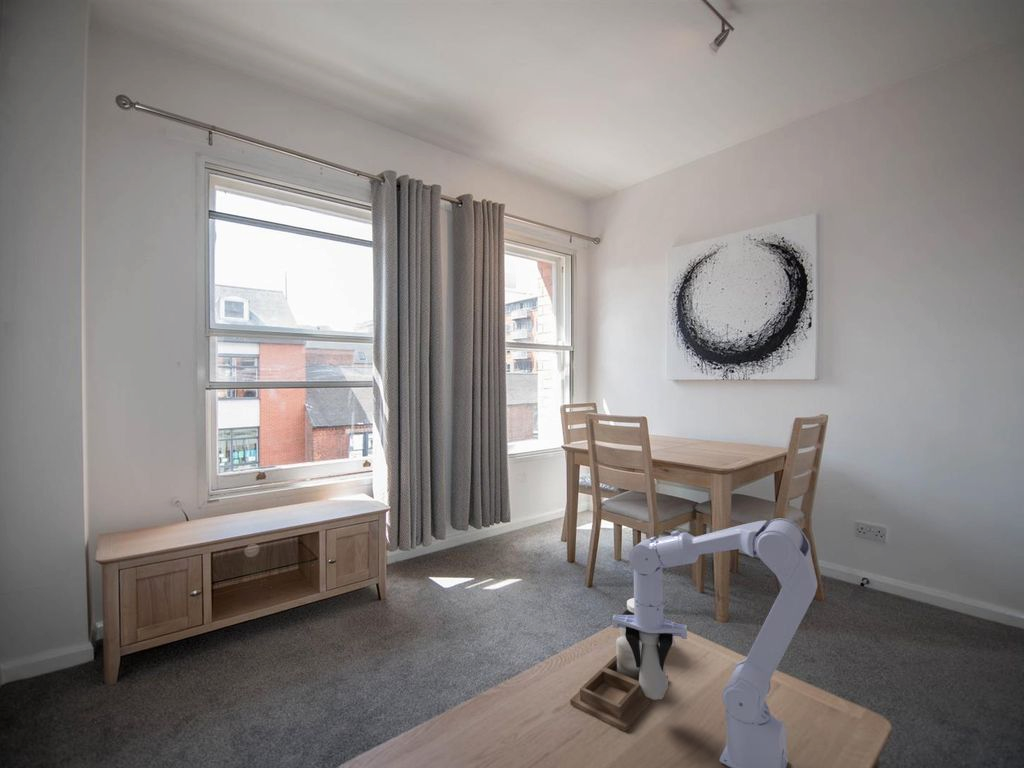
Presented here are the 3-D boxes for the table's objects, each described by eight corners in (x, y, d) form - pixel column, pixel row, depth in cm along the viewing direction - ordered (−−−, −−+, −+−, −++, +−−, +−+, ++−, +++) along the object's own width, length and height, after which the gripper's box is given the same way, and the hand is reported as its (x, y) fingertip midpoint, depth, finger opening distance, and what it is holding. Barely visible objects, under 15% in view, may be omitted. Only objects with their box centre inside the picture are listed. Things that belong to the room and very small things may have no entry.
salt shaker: (674, 700, 93) (668, 634, 93) (646, 704, 92) (640, 638, 92) (662, 682, 98) (656, 620, 99) (635, 686, 98) (630, 624, 98)
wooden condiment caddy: (668, 680, 108) (667, 641, 108) (625, 732, 92) (624, 686, 92) (617, 660, 116) (616, 623, 116) (570, 704, 100) (569, 662, 101)
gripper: (686, 596, 97) (687, 662, 97) (615, 587, 102) (616, 650, 102) (686, 612, 90) (687, 682, 90) (610, 601, 95) (611, 668, 95)
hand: (649, 666), depth 96 cm, fingers closed on salt shaker, 4 cm apart
